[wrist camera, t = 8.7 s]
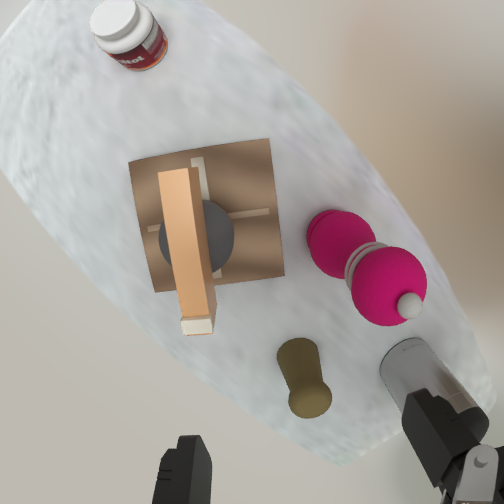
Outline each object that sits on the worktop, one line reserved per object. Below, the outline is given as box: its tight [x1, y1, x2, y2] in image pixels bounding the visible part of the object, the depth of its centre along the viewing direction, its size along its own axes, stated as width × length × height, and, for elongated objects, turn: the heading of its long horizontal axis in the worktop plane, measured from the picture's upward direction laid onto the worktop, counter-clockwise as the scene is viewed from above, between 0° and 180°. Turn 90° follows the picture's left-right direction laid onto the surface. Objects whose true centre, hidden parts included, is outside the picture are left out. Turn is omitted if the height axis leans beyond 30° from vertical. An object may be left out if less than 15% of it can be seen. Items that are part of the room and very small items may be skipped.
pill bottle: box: [89, 0, 167, 71], centre depth 23 cm, size 6×6×11 cm
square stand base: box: [128, 139, 285, 292], centre depth 31 cm, size 16×16×8 cm
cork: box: [277, 338, 332, 419], centre depth 36 cm, size 6×6×11 cm
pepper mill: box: [307, 210, 427, 326], centre depth 26 cm, size 7×7×20 cm
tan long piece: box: [158, 167, 234, 336], centre depth 23 cm, size 6×12×8 cm, turn 6°
